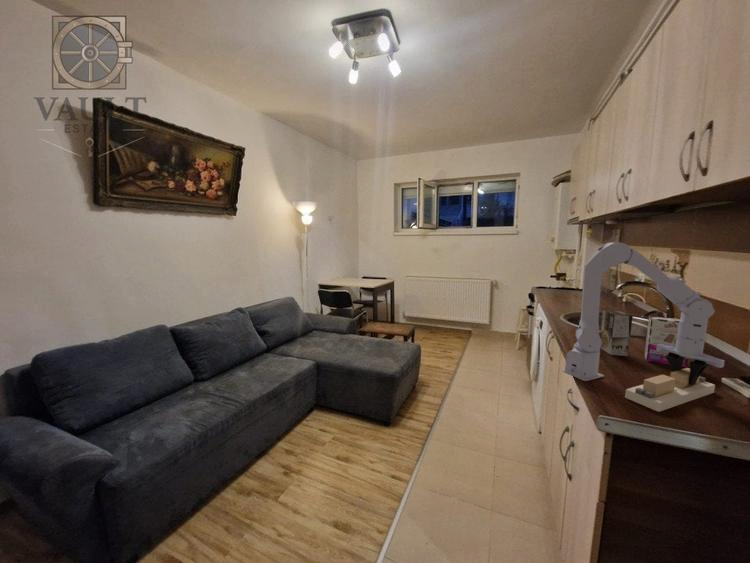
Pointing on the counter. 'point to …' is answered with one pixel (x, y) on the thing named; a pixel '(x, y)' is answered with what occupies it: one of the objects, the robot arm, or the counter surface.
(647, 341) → the candy bar box
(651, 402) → the white block holder
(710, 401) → the counter surface
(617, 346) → the coffee box
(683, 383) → the beige rectangular block
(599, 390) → the counter surface
